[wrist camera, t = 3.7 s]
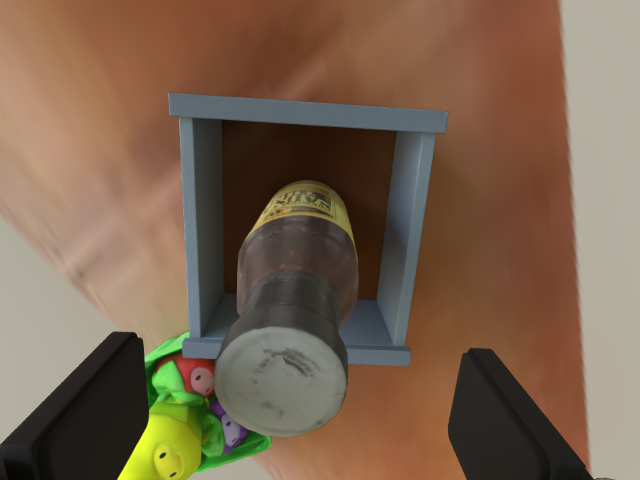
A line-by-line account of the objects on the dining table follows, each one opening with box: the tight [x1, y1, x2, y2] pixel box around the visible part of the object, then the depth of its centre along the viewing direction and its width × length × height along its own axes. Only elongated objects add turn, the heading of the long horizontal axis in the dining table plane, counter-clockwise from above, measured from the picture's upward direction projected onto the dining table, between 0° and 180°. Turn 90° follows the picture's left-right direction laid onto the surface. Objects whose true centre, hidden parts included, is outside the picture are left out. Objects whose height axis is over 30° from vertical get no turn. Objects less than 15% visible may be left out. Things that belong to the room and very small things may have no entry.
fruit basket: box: [118, 332, 271, 480], centre depth 28 cm, size 11×9×11 cm
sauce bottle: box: [213, 180, 359, 437], centre depth 20 cm, size 6×6×20 cm
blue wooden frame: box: [168, 93, 449, 366], centre depth 26 cm, size 15×16×8 cm
